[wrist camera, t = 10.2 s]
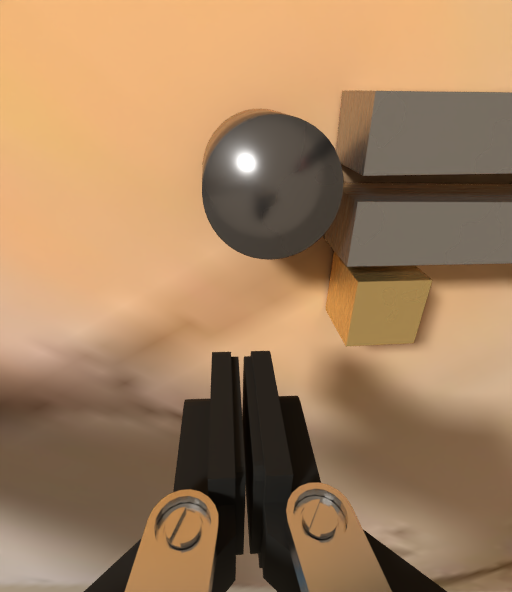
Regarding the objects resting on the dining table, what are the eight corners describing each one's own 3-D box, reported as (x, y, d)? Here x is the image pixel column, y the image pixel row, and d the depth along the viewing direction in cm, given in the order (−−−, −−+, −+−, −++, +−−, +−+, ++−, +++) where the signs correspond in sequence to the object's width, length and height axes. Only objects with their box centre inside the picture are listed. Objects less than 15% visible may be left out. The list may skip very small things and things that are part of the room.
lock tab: (325, 309, 18) (346, 346, 15) (333, 251, 17) (358, 281, 14) (383, 307, 18) (413, 343, 16) (397, 250, 17) (432, 279, 14)
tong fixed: (205, 265, 16) (206, 307, 13) (200, 106, 13) (199, 111, 10) (675, 256, 19) (767, 289, 16) (758, 125, 16) (890, 134, 13)
